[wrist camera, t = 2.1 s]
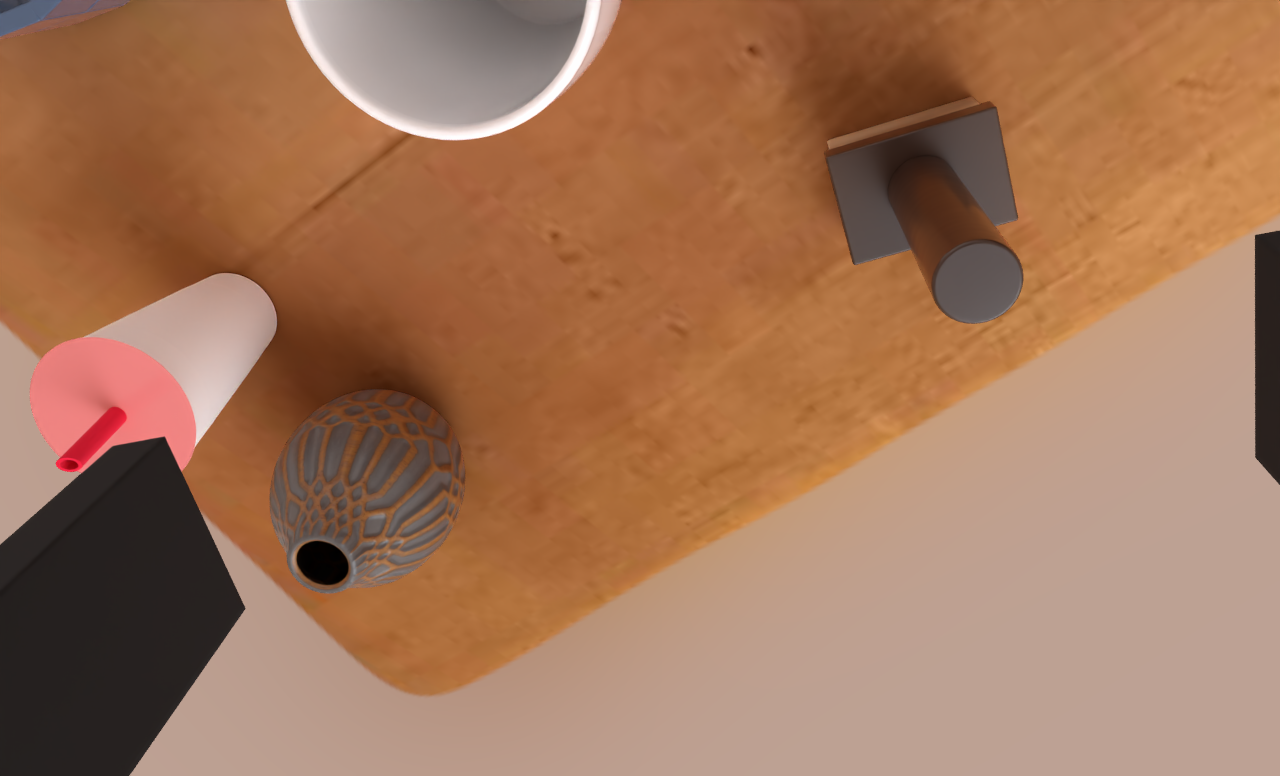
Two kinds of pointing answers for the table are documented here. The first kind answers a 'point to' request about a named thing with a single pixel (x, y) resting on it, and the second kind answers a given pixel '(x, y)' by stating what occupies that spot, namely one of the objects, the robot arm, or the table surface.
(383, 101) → the drinking glass
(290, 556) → the vase
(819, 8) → the table surface
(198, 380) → the cup
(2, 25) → the bowl
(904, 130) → the brush
